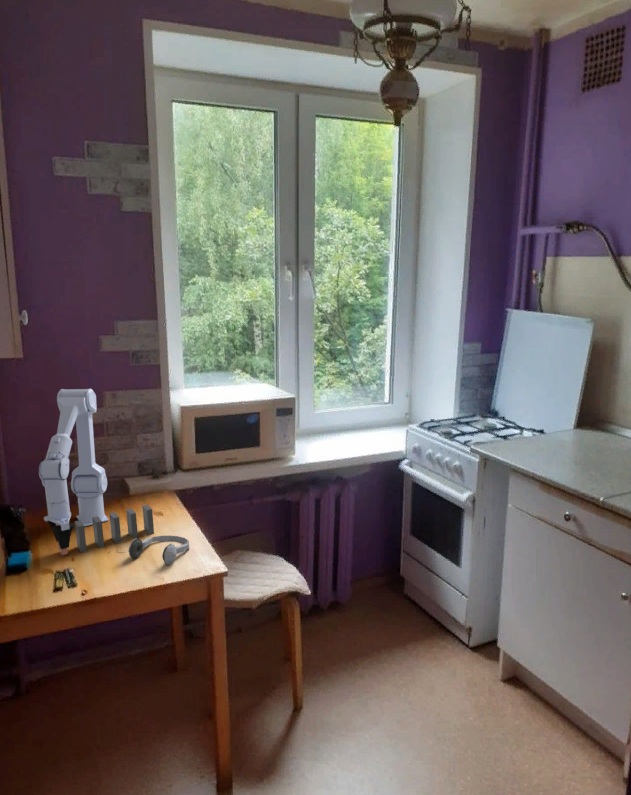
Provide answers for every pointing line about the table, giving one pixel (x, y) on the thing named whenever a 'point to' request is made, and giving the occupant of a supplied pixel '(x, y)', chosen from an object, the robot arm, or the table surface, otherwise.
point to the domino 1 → (63, 551)
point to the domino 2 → (80, 536)
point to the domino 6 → (148, 519)
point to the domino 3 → (98, 531)
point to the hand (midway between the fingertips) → (62, 544)
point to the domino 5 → (132, 523)
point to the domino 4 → (115, 527)
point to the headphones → (168, 552)
